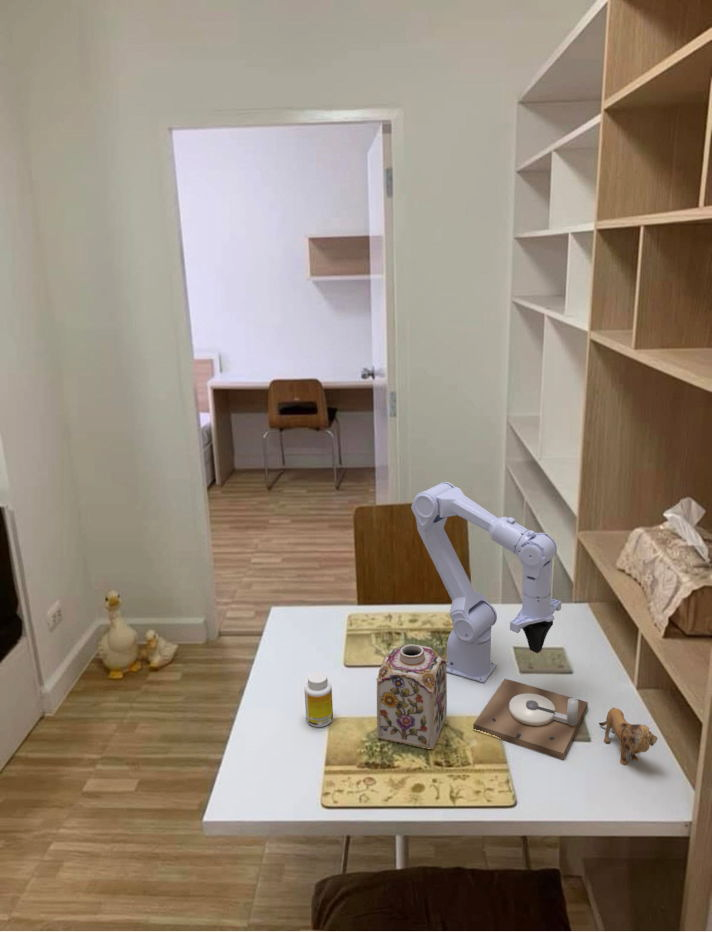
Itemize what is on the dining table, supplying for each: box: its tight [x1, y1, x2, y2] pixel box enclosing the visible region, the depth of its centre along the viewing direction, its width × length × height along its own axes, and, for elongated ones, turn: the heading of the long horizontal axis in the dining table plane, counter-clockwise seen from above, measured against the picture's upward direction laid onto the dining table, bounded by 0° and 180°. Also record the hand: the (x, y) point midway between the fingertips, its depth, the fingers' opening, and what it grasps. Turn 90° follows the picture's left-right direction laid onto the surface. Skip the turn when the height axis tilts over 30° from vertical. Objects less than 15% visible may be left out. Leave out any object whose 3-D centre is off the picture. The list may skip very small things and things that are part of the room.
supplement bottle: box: [304, 671, 334, 728], centre depth 148 cm, size 6×6×10 cm
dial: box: [509, 693, 578, 726], centre depth 145 cm, size 14×9×5 cm, turn 61°
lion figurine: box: [598, 707, 659, 766], centre depth 136 cm, size 15×5×9 cm, turn 16°
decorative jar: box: [376, 643, 448, 750], centre depth 143 cm, size 12×12×18 cm
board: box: [472, 678, 589, 761], centre depth 147 cm, size 18×18×2 cm
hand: (535, 650), depth 152 cm, fingers closed
